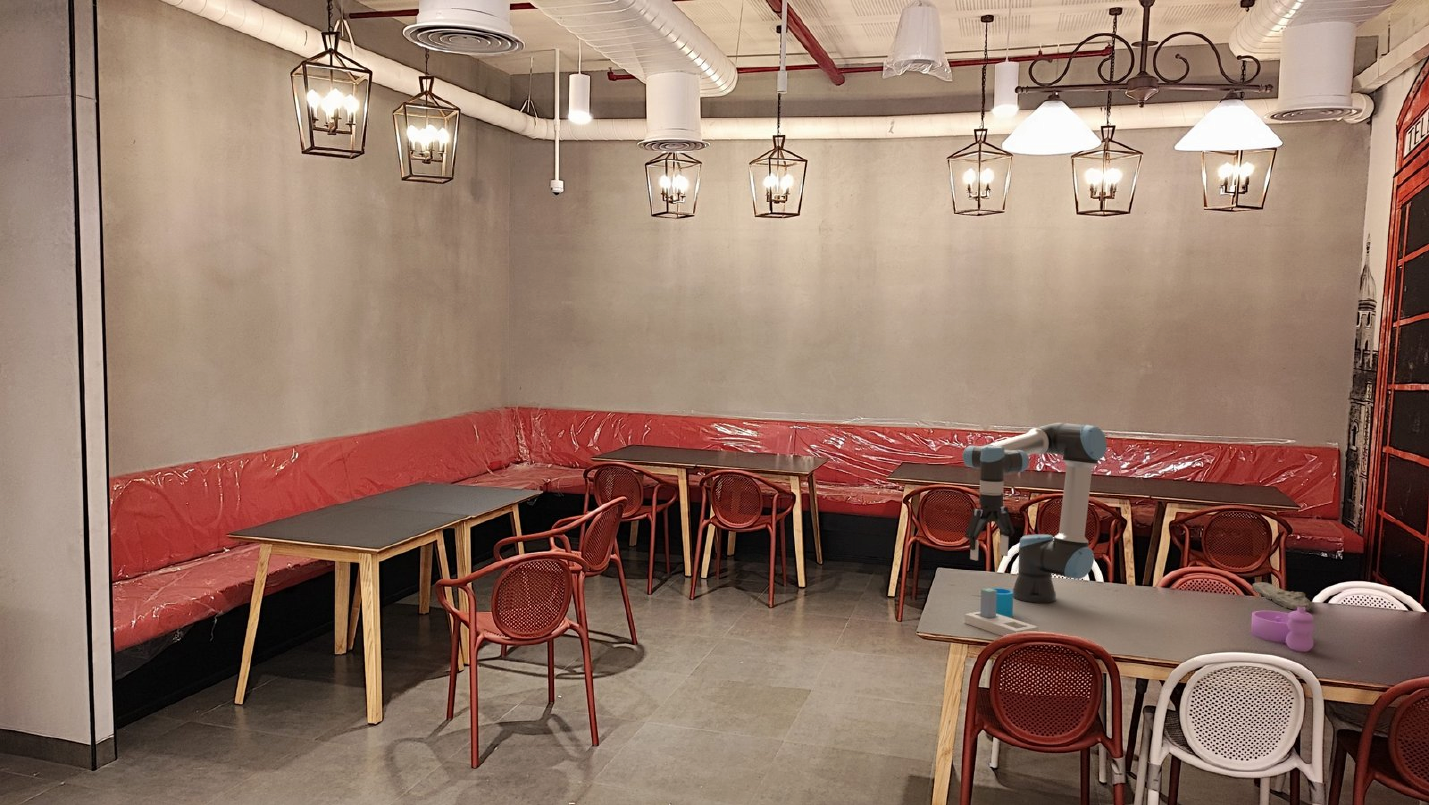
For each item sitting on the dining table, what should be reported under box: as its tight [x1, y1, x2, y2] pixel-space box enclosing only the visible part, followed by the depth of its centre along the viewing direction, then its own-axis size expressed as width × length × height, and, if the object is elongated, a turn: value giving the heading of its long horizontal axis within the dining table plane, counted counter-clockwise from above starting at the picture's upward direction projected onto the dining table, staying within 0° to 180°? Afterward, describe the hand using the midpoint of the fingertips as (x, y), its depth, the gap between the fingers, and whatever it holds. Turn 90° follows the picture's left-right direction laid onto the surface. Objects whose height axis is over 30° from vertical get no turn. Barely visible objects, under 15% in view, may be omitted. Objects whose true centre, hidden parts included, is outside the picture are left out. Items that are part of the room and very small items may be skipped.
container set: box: [1250, 607, 1315, 653], centre depth 324 cm, size 25×15×13 cm, turn 176°
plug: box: [980, 587, 997, 619], centre depth 335 cm, size 4×4×12 cm
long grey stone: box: [1251, 581, 1312, 612], centre depth 375 cm, size 35×5×10 cm
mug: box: [992, 587, 1014, 618], centre depth 350 cm, size 12×8×8 cm
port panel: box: [964, 610, 1039, 637], centre depth 331 cm, size 22×10×3 cm, turn 31°
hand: (989, 557), depth 334 cm, fingers open, 13 cm apart
